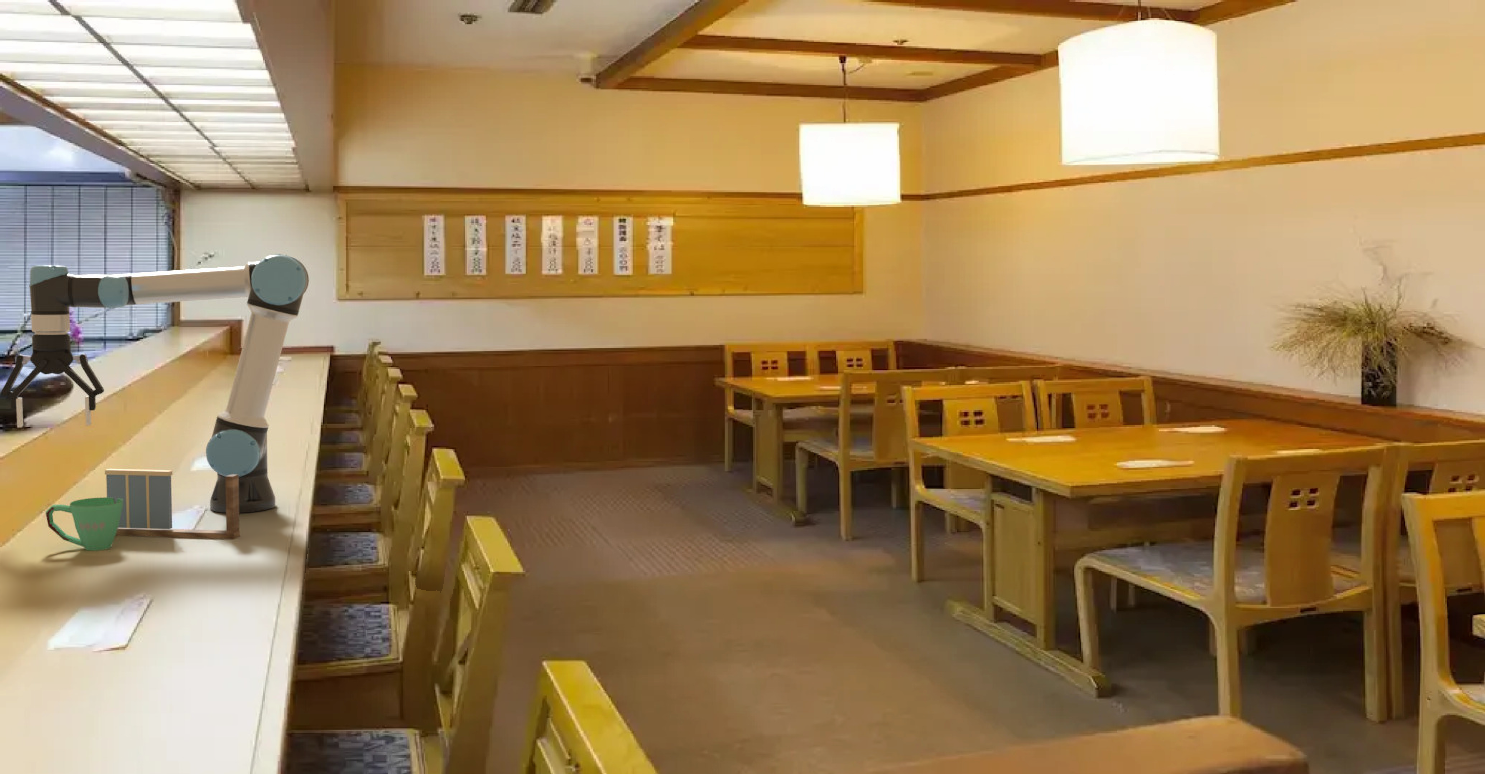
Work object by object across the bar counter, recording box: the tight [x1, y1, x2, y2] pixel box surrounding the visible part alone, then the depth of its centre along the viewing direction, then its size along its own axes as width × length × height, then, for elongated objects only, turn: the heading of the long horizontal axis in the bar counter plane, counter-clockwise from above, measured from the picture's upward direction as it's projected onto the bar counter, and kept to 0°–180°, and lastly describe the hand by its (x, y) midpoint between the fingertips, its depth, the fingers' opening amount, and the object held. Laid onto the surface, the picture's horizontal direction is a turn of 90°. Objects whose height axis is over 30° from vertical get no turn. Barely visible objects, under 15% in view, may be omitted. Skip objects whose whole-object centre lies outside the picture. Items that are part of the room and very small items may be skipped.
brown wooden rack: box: [115, 474, 241, 540], centre depth 259 cm, size 31×3×14 cm, turn 88°
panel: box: [104, 468, 173, 529], centre depth 259 cm, size 14×2×13 cm, turn 88°
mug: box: [45, 496, 123, 552], centre depth 245 cm, size 15×10×10 cm
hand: (54, 425), depth 266 cm, fingers open, 13 cm apart
